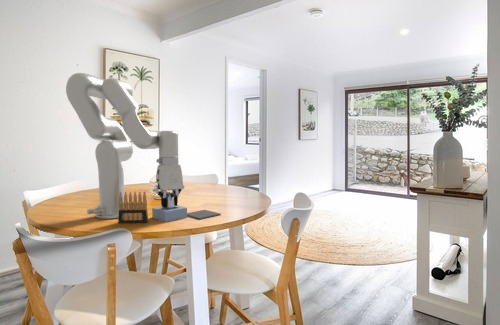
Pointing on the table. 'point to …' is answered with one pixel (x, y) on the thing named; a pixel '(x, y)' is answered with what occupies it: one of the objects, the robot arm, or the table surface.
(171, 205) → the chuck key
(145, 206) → the ammunition clip
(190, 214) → the rubber mat
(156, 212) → the block
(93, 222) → the table surface
